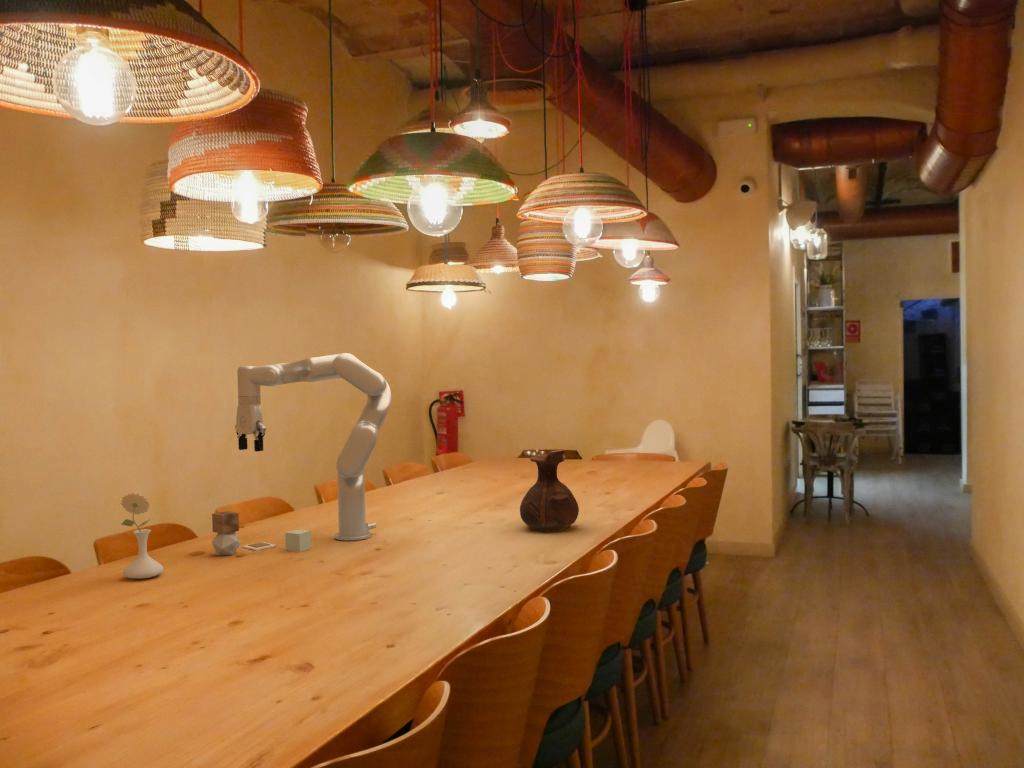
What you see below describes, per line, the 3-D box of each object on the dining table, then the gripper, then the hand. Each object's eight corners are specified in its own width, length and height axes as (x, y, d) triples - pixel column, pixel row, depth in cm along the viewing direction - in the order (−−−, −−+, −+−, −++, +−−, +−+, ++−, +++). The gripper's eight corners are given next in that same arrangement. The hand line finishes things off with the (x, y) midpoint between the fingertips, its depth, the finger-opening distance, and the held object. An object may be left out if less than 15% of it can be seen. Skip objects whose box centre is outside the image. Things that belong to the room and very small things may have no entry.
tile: (262, 543, 309) (262, 541, 309) (276, 546, 304) (276, 544, 304) (242, 547, 303) (242, 545, 303) (255, 550, 298) (255, 548, 298)
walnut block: (228, 528, 297) (228, 510, 297) (239, 530, 293) (238, 512, 293) (212, 531, 293) (212, 513, 292) (222, 533, 289) (222, 515, 289)
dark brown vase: (510, 532, 320) (508, 449, 319) (531, 521, 340) (530, 443, 339) (568, 536, 312) (566, 450, 311) (586, 524, 332) (585, 444, 331)
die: (224, 560, 287) (242, 534, 290) (202, 547, 289) (220, 521, 291) (231, 563, 295) (249, 538, 298) (210, 550, 296) (228, 525, 299)
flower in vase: (172, 573, 268) (169, 491, 268) (145, 583, 258) (142, 497, 257) (137, 570, 273) (134, 489, 272) (109, 580, 262) (106, 495, 261)
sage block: (297, 546, 303) (296, 529, 303) (311, 548, 301) (310, 530, 300) (285, 550, 298) (285, 532, 298) (299, 552, 295) (299, 534, 295)
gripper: (226, 401, 312) (227, 449, 313) (254, 402, 301) (255, 452, 302) (245, 400, 318) (246, 447, 319) (273, 401, 307) (274, 450, 307)
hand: (250, 450), depth 310 cm, fingers open, 9 cm apart
